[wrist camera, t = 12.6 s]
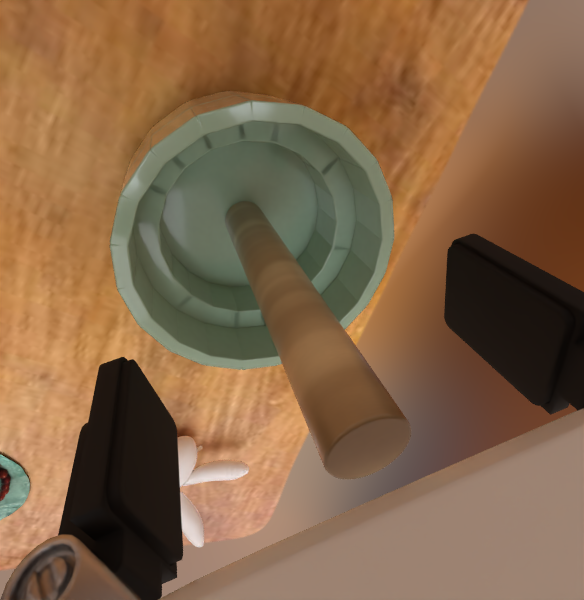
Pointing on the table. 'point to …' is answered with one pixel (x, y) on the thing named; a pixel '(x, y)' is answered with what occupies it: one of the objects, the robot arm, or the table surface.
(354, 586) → the robot arm
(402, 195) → the table surface
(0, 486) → the dish
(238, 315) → the bowl
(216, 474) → the rabbit figurine
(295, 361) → the stick
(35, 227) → the table surface
